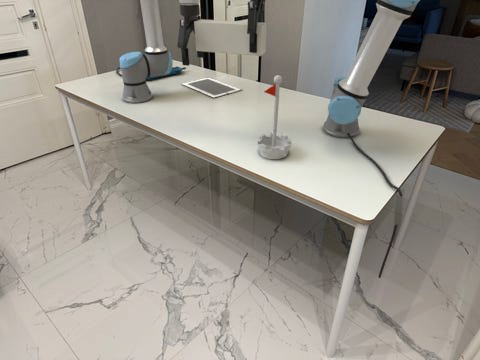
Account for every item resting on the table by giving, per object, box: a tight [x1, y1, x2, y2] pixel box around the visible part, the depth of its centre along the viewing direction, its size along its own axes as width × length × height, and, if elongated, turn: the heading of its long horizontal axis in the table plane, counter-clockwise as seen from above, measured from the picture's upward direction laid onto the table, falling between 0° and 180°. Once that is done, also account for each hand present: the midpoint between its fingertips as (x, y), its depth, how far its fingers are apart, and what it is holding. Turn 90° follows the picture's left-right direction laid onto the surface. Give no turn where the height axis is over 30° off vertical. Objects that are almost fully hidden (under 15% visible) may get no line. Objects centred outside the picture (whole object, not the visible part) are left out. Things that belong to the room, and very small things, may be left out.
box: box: [194, 18, 268, 57], centre depth 131 cm, size 27×6×11 cm, turn 70°
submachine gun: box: [146, 66, 187, 81], centre depth 223 cm, size 34×4×25 cm
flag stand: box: [256, 74, 292, 160], centre depth 125 cm, size 13×13×30 cm
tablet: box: [181, 77, 242, 99], centre depth 200 cm, size 32×20×1 cm, turn 41°
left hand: (193, 61), depth 141 cm, fingers open, 13 cm apart
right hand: (256, 50), depth 130 cm, fingers closed on box, 7 cm apart
